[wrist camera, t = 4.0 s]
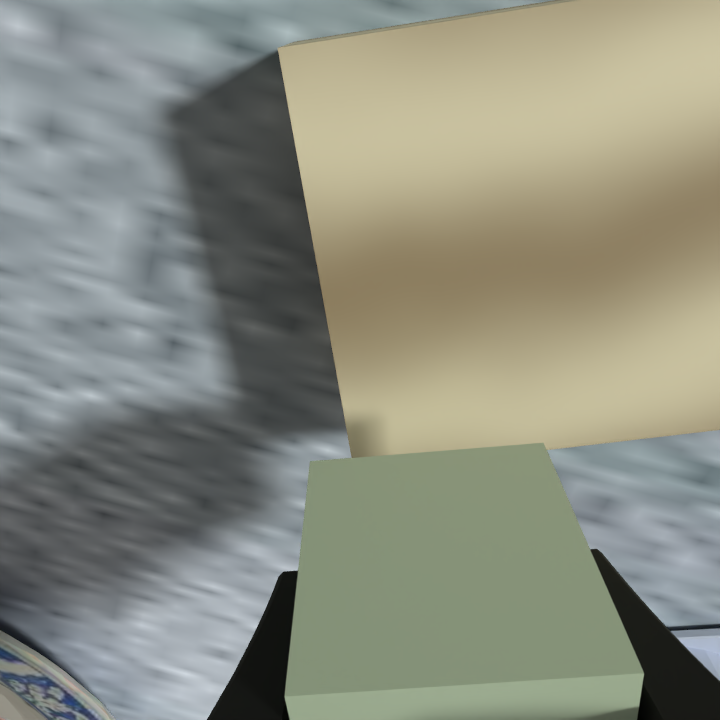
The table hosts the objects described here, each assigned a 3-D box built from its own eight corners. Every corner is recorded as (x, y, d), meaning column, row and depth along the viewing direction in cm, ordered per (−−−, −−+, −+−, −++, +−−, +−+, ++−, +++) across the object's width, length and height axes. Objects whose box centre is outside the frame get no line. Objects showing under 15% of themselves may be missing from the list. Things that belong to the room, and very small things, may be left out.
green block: (536, 609, 15) (614, 866, 10) (336, 623, 15) (326, 881, 10) (543, 442, 13) (644, 673, 8) (310, 461, 13) (284, 697, 8)
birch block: (682, 353, 20) (752, 426, 16) (355, 393, 21) (354, 472, 17) (717, -26, 15) (825, -40, 12) (295, 41, 16) (277, 47, 12)
